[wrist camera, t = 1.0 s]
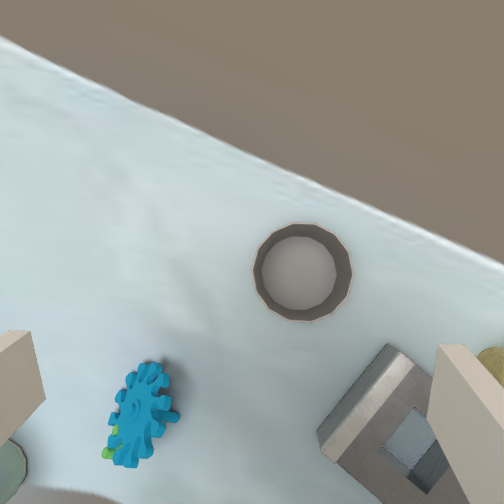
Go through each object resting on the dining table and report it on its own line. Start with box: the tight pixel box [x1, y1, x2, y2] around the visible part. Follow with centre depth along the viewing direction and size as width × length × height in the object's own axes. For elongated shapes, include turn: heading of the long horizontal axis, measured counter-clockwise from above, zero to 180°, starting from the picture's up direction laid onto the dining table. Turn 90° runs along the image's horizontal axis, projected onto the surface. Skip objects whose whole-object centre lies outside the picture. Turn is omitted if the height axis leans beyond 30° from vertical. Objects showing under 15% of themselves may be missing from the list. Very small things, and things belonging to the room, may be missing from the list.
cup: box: [251, 222, 354, 323], centre depth 34 cm, size 8×8×10 cm
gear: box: [102, 362, 179, 468], centre depth 37 cm, size 11×6×10 cm
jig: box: [317, 344, 470, 504], centre depth 34 cm, size 14×12×5 cm
